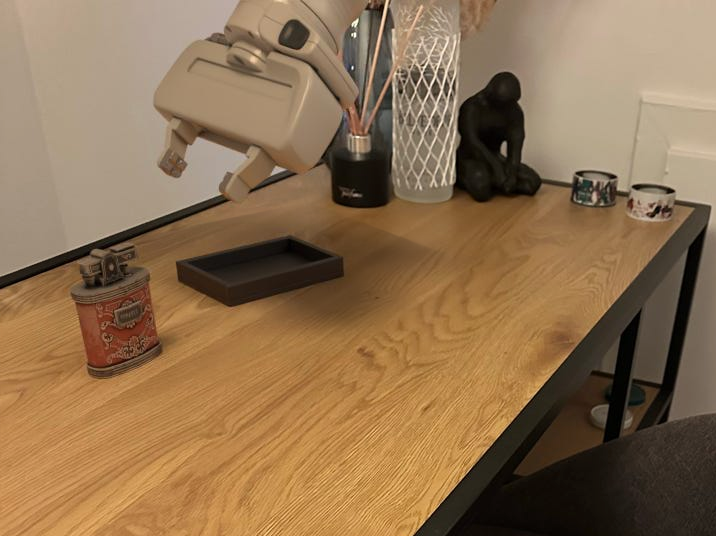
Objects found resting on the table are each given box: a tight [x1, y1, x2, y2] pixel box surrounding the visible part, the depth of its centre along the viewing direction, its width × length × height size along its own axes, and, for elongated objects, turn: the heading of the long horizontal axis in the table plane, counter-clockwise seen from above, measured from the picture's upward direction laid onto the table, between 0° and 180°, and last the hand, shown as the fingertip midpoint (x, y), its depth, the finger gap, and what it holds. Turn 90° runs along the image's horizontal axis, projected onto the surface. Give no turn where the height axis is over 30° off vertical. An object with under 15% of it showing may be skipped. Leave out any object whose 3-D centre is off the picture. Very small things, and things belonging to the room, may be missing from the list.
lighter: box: [69, 241, 163, 379], centre depth 83 cm, size 8×3×10 cm, turn 152°
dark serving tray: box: [175, 234, 345, 308], centre depth 104 cm, size 10×16×2 cm, turn 137°
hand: (196, 184), depth 83 cm, fingers open, 8 cm apart
